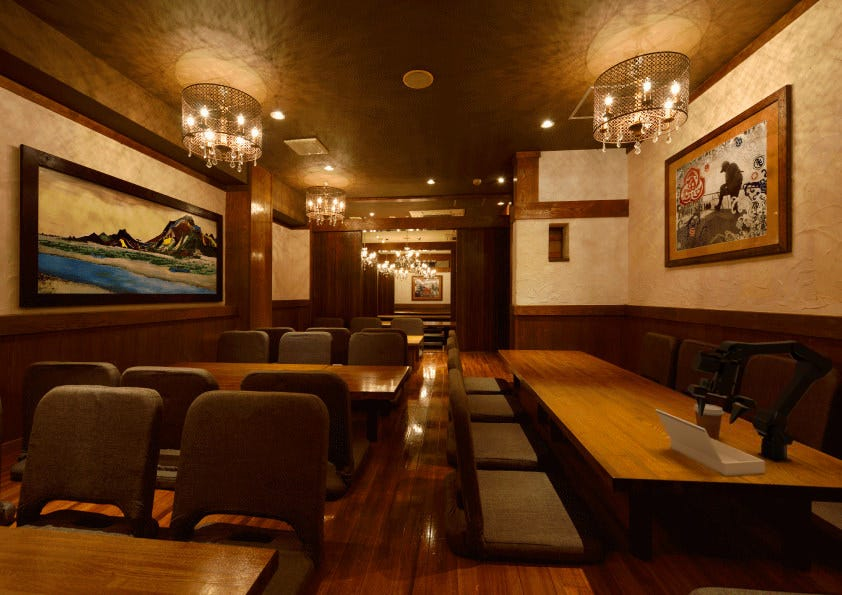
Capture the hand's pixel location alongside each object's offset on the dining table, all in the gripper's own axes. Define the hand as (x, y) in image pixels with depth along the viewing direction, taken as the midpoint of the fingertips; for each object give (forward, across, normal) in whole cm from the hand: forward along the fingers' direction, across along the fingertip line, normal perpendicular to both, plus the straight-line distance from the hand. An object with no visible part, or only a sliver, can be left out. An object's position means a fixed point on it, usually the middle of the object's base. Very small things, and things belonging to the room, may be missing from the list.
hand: (715, 419), depth 134 cm
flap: (+6, +11, +9) cm, 15 cm away
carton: (+13, 0, +5) cm, 14 cm away
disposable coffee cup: (+10, -8, -19) cm, 23 cm away
